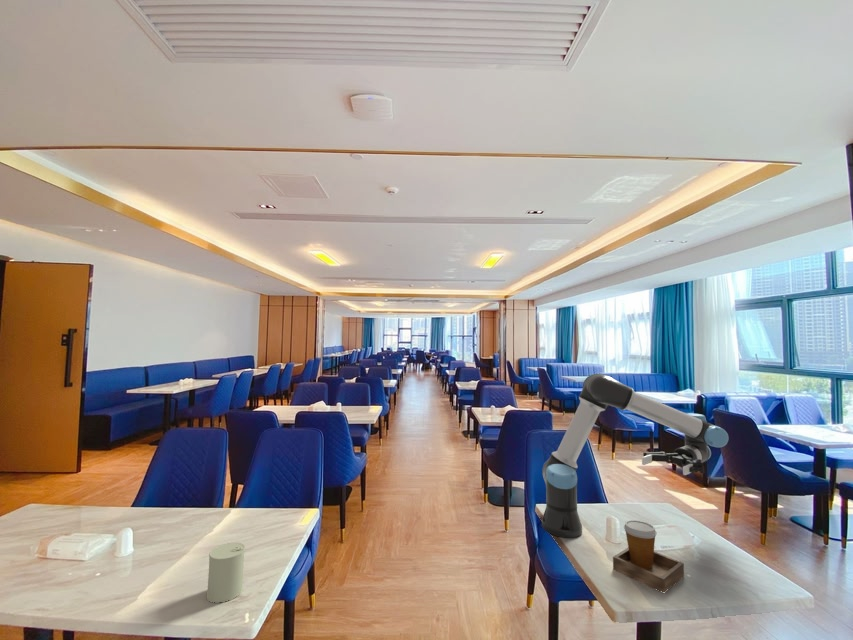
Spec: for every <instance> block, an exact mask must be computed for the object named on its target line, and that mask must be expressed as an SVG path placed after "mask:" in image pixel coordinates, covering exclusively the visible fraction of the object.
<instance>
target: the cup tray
mask: <svg viewBox="0 0 853 640" xmlns="http://www.w3.org/2000/svg"><path fill="white" fill-rule="evenodd" d="M684 566H685V565H684V562H682V561H679V560H678V559H674V558H672V557H670V556H667V555H664V554H662V553H660V552H657V551H655V550H654V555H653V567H652V568H650V569H643V568H641V567H639V566H636V565H634V564H632V563H631V559H630V554H629V548H628V547H626V548H625V549H623V550H622V551H619V552H618V553H617V554H615V555H613V556H612V569H613V571H614V572H615V571H616V573H617V572H618V573H619V574H621V575H624V576H625V577H628V578H630V579H632V580H634V581H636V582H638V583H640V584H643V585H645V586H647V587H649V588H651V587H652V588H651V589H653V588H654V589H653V590H655V589H657V590H659V591H662V592H665V591H666V590H667V589H669V588H670V587H671V586H672V587H673V586H674V584H675V583H676V584H677V583H679V582H680V581H681V580H682V579H684V577H685V567H684ZM676 584H675V585H676ZM672 587H671V588H672ZM671 588H670V589H671ZM670 589H669V590H670ZM657 590H656V591H657ZM659 591H658V592H659ZM666 592H667V591H666ZM666 592H665V593H666Z"/></svg>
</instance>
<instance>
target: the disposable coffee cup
mask: <svg viewBox="0 0 853 640" xmlns="http://www.w3.org/2000/svg"><path fill="white" fill-rule="evenodd" d="M623 530H624V531H625V535H626V541H627V542H626V543H627V546H628V547H627V548H629V554H630V559H631V563H632V564H634V565H636V566H639V567H641V568H643V569H650V568H652V567H653V555H654V551H655V541H656V536H657V531H656V529H655V527H654V526H653V525H652V524H651V523H648V522H646V521H641V520H636V519H635V520H633V519H631V520H630V519H629V520H626V521H625V523H624V525H623Z"/></svg>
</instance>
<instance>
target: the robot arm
mask: <svg viewBox="0 0 853 640" xmlns="http://www.w3.org/2000/svg"><path fill="white" fill-rule="evenodd" d="M634 390H635V389H633V387H630V386H628V385H626V384H624V383H622V382H621V381H619V380H617V379H615V378H613V377H611V376H609V375H605V374H603V373H593V374H590V375H588V376H586V378H585V379H584V380H583V382H582V390H581V392H580V394H579V395H578V399H579V404H578V406H577V409H576V411H575V413H574V415H573V416H572V419H571V420H570V423H569V425H568V427H567V429H566V431H565V433H564V435H563V437H562V440H561V442H560V444H559V446H558V448H557V450H556V451H552V452H551V454H550V456H549V458H548V459H547V460H546V461H545V462H544V463H543V466H542V469H541V470H542V472H541V475H542V478H543V480H544V483H545V484H544V485H545V489H546V490H545V491H546V492H545V495H546V499H545V501H546V503H545V504H546V505H545V506H546V507H545V509H544V512H543V516H542V518H541V527H542V529H543V530H544V531H545V532H547V533H549V534H551V535H553V536H556V537H561V538H571V539H572V538H577V537H580V536H581V535H582V534H583V525H582V522H581V519H580V515H579V513H578V475H577V472H576V471H577V469H578V467H579V466H578V464H577V460H578V458H579V456H580V454H581V452H582V450H583V448H584V446H585V444H586V442H587V440H588V438H589V436H590V434H591V431H592V430H593V427H594V425H595V423H596V422H597V419H598V417H599V416H600V413H601V412H604V411H606V409H607V408H608V406H610V407H614V408H616V409H619V410H621V411H626V410H628V411H629V412H632V413H634V414H637V415H639V416H640V417H644V418H646V419H648V420H651V421H653V422H656V423H658V424H660V425H663V426H665V427H668V428H669V429H672V430H675V431H676V432H679V433H681V434H683V435H684V446H681V447H677V448H675V449H674V450H673V452H671V453H670V452H669V453H667V452H665V451H655V452H654V451H650V452H644V451H643V454H642V456H641V465H642V466H646V465H648V464H651V463H652V462H664V463H667V464H674V465H677V466H678V467H679V468H682V475H683V476H687V475H690V474H691V473H700V474H705V466H704V464H703V463H706V462H708V460H709V459H710V458H711V456H712V451H711V449H710V447H714V448H723V447H725V446H726V445H727V444H728V442H729V441H730V440H729V434H728V432H727V431H726V430H725V429H724V428H722V427H720V426H718V425H716V424H715V425H714V424H712V423H710V422H708V421H707V417H706V415H704V414H700V413H693V412H690V413H689V412H684V411H680V410H679V409H676V408H674V407H672V406H669V405H667V404H664V403H663V402H660V401H658V400H655V399H653V398H650V397H648V396H646V395H643V394H640V393H638V392H635V391H634ZM709 446H710V447H709Z"/></svg>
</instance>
